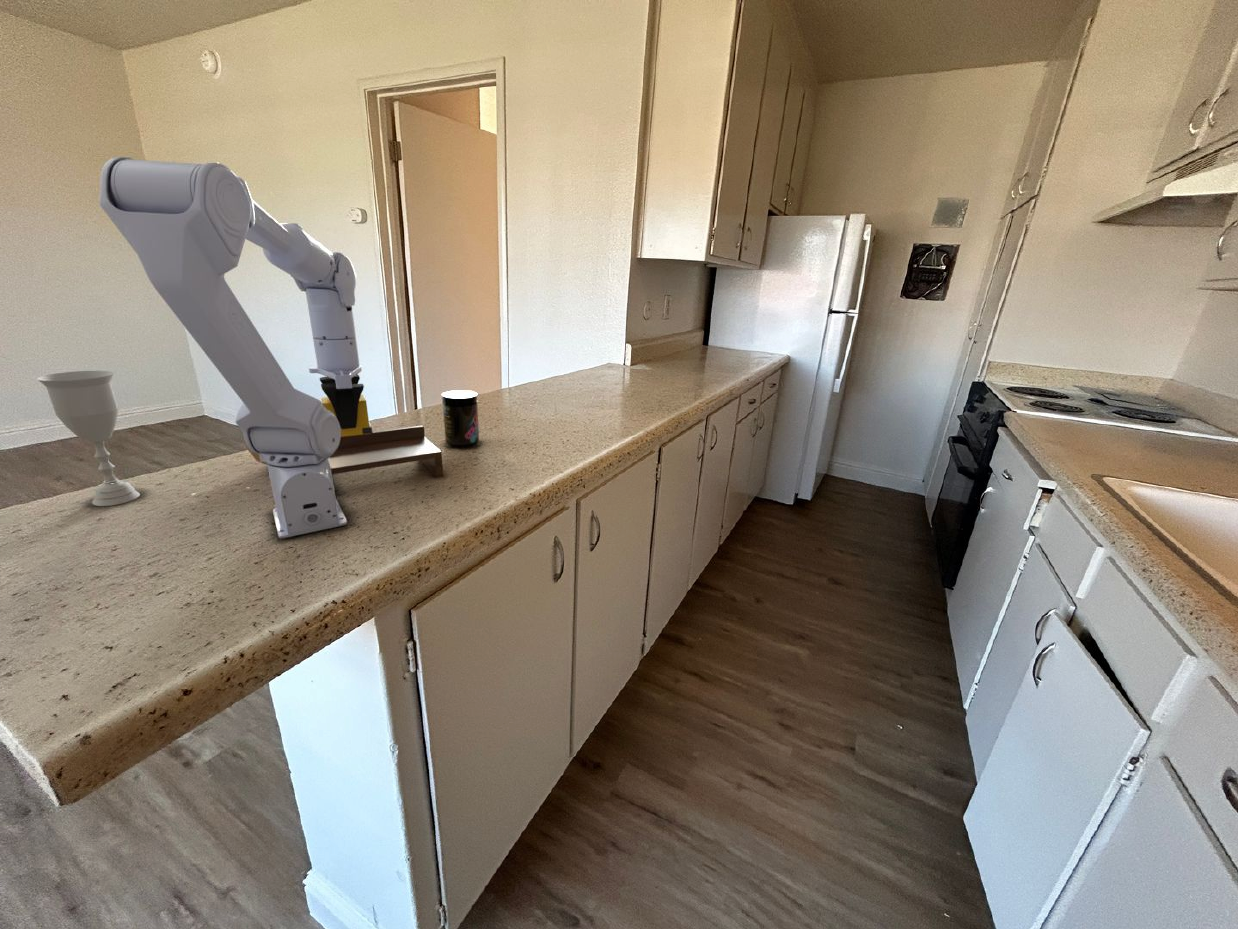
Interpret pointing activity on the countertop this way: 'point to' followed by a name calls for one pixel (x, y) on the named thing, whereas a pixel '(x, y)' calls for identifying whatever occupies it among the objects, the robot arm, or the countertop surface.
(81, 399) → the chalice
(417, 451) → the shelf
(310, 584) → the countertop surface
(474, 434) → the supplement container
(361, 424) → the tape measure
